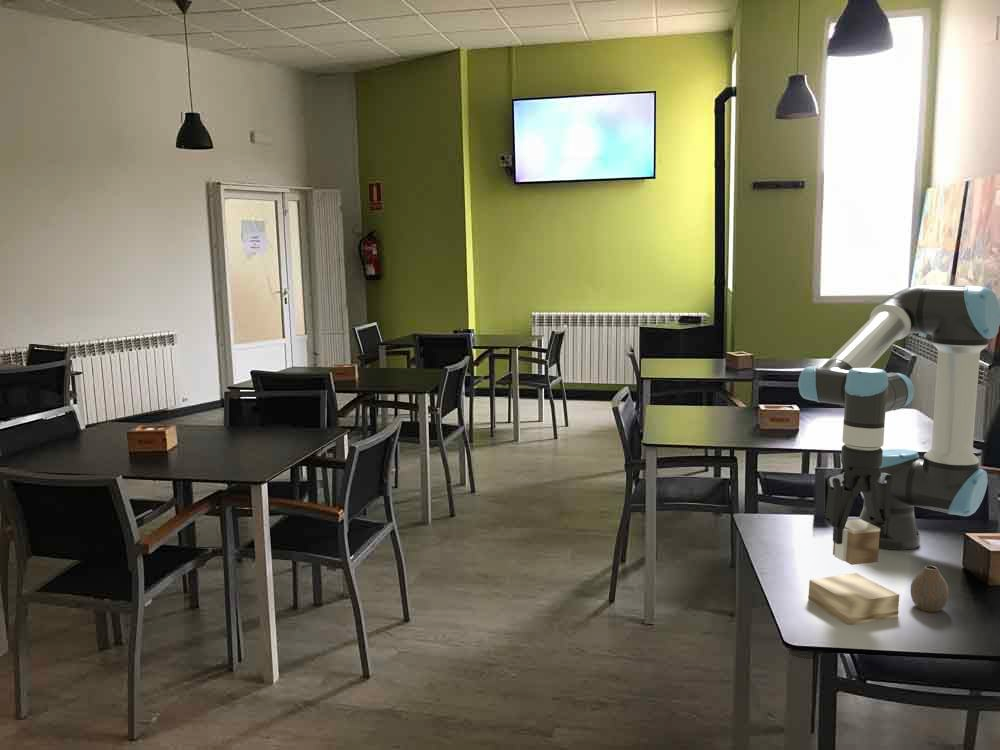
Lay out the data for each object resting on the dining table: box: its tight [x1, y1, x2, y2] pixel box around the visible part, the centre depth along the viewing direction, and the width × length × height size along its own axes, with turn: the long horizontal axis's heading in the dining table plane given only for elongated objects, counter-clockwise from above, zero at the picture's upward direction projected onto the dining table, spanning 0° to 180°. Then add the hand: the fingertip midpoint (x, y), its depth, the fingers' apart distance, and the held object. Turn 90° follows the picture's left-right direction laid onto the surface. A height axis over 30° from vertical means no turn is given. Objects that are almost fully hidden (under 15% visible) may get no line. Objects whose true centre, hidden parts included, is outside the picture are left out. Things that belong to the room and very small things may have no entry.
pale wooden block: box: [832, 518, 880, 566], centre depth 169 cm, size 6×6×7 cm
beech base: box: [807, 572, 900, 626], centre depth 171 cm, size 12×12×5 cm
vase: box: [910, 564, 950, 613], centre depth 171 cm, size 7×7×9 cm
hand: (854, 556), depth 169 cm, fingers closed on pale wooden block, 6 cm apart
